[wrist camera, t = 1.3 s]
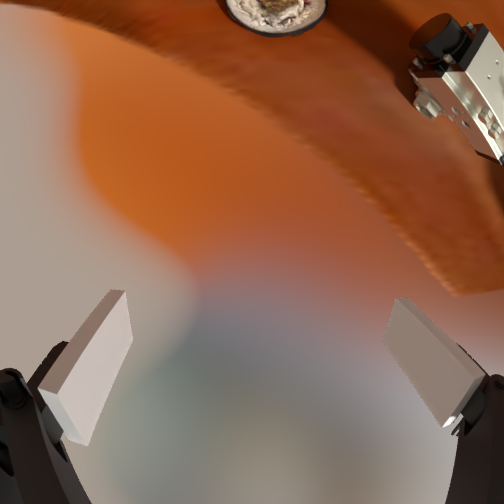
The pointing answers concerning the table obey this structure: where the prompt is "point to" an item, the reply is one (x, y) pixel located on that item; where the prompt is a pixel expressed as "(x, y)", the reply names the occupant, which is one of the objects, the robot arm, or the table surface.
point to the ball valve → (461, 80)
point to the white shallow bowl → (277, 15)
